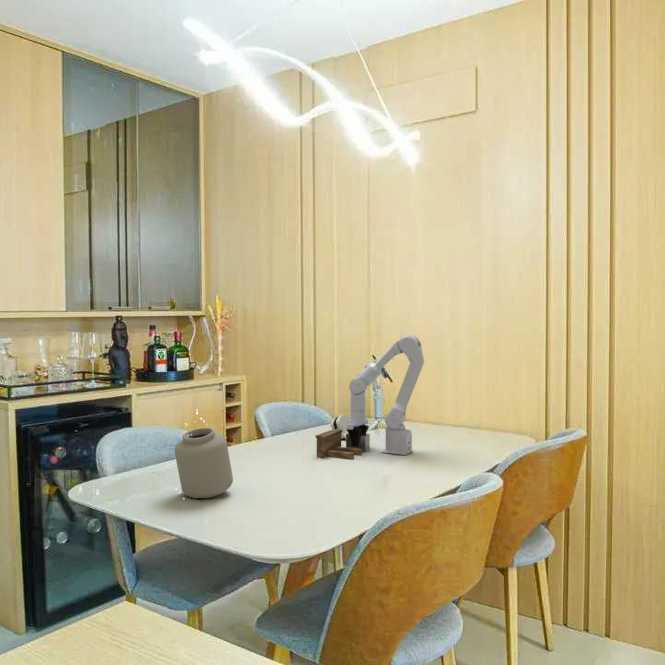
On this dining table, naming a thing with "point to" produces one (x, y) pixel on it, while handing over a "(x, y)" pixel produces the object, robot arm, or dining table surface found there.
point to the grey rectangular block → (363, 442)
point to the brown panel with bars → (334, 446)
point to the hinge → (341, 424)
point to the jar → (203, 463)
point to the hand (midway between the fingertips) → (357, 445)
